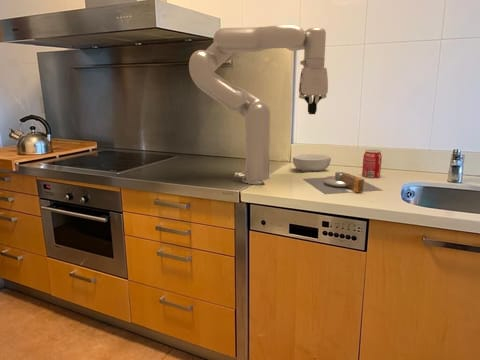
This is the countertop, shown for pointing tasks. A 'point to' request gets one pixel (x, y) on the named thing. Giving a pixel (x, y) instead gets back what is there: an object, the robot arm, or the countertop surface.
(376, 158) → the soda can
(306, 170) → the cereal bowl
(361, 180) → the dial
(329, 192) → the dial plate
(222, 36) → the robot arm
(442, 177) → the countertop surface
